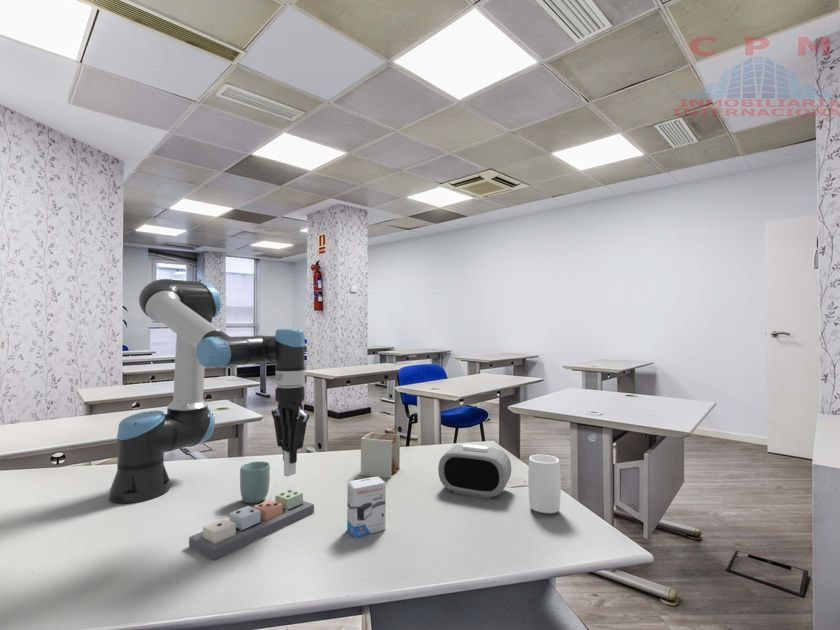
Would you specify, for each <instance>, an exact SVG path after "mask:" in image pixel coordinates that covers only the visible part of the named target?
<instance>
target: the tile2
mask: <svg viewBox="0 0 840 630" xmlns="http://www.w3.org/2000/svg"><path fill="white" fill-rule="evenodd" d="M260 517H261V511H260V510H258V509H255V508H254V506H253V507H252V506H250V505H247V506H243V507H242V508H239V509H237V510H235V511H231V512H229V519H228V520H229V521H231V522H233V523H235V524H236V528H238V529H240V530H239V531H243V530H246V529H249V528H251V527H250V526H252V525H255V524H257V523H259V522H260Z"/></svg>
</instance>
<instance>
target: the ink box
mask: <svg viewBox="0 0 840 630" xmlns="http://www.w3.org/2000/svg"><path fill="white" fill-rule="evenodd" d="M386 485H387V484H386V481H384V480H383V479H382V477H377V476H370V477H367V478H361V479H355V480H349V482H347V495H346V496H347V501H346V502H347V506H346V507H347V511H346V513H347V514H346V517H347V521H346V523H347V524H346V528H347V529H346V530H347V531H348V533H349V534H350V535H351V536H352V537H353V538H354V537H355V538H358V536H359V537H362V536H366V535H369V533H370V534H373V533H378V532H382V530H383V531H385V530H386V519H387V517H386V509H387V505H386V503H387V502H386V497H387V495H386V491H387V490H386V488H387V487H386Z"/></svg>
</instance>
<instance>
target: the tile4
mask: <svg viewBox="0 0 840 630" xmlns="http://www.w3.org/2000/svg"><path fill="white" fill-rule="evenodd" d="M274 496H275V497H274V501H276V502H278V503H281V504H283V509H286V510H285V511H288V510H289V511H290V509H291V510H292V509H293V507H295V506H298V505H300V504H302V503H303V501H304V499H303V496H304V495H303V492H300V491H297V490H295V489H291V488H290V489H288V490H285V491H282V492H279V493H277V494H275V495H274Z"/></svg>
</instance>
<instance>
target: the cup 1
mask: <svg viewBox="0 0 840 630" xmlns="http://www.w3.org/2000/svg"><path fill="white" fill-rule="evenodd" d="M270 471H271V465H270V462H268V461H251V462H250V461H249V462H247V463H244V464H242V465H241V466H240V470H239V490H240V496H241V499H242V501H243V502H244V503H247V504H259V503H260V502H261V503H262V502H263V501H265V499H266V498H267V496H268V493H269V489H270V478H271V475H270V474H271V472H270Z"/></svg>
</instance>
